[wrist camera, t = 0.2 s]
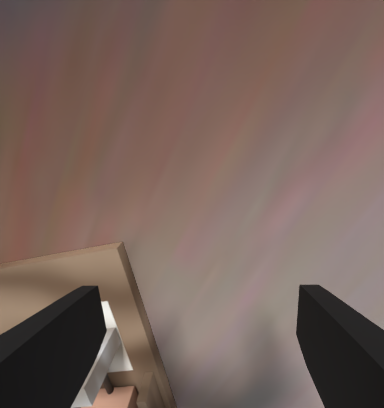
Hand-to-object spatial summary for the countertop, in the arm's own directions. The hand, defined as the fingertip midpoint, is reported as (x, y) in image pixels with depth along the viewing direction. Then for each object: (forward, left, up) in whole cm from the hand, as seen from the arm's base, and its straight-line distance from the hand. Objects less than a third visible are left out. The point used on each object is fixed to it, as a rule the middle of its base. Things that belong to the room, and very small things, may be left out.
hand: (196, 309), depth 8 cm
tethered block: (-13, +12, -9) cm, 20 cm away
